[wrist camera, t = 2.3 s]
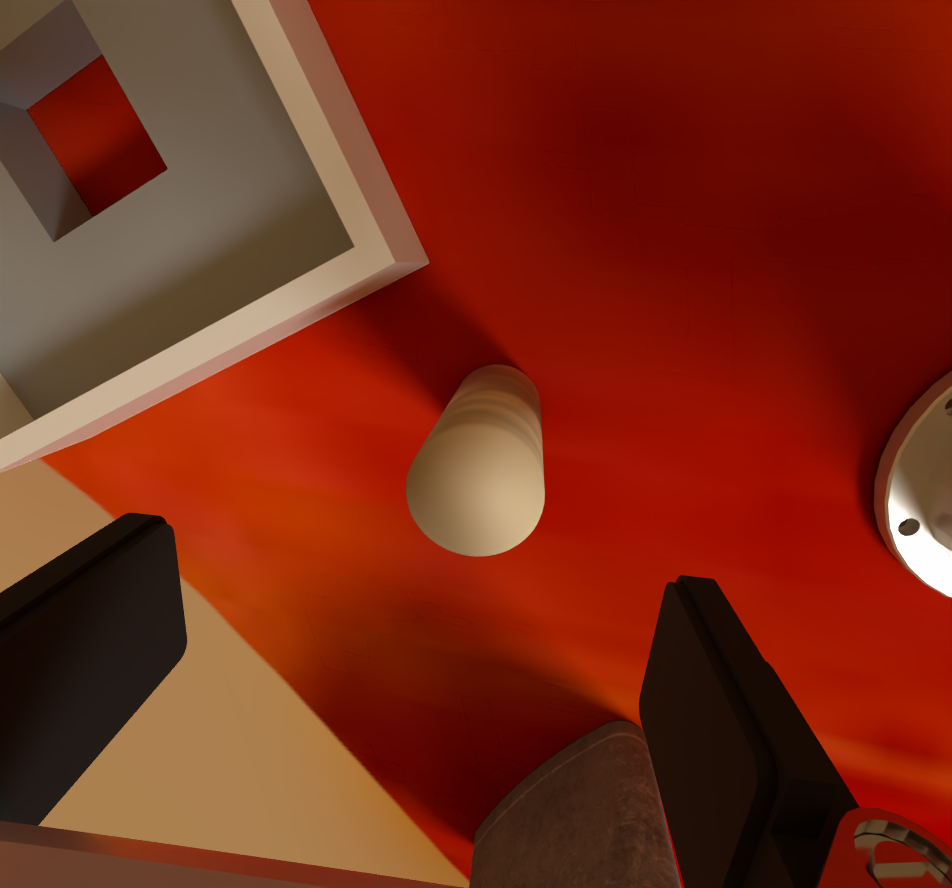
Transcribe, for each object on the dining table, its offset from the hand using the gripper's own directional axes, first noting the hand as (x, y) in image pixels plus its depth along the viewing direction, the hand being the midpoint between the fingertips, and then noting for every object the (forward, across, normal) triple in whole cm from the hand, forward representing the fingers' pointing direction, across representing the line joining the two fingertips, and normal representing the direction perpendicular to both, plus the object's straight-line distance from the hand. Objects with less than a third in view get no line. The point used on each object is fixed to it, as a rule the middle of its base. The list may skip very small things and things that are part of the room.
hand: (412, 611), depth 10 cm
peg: (+16, -1, 0) cm, 16 cm away
